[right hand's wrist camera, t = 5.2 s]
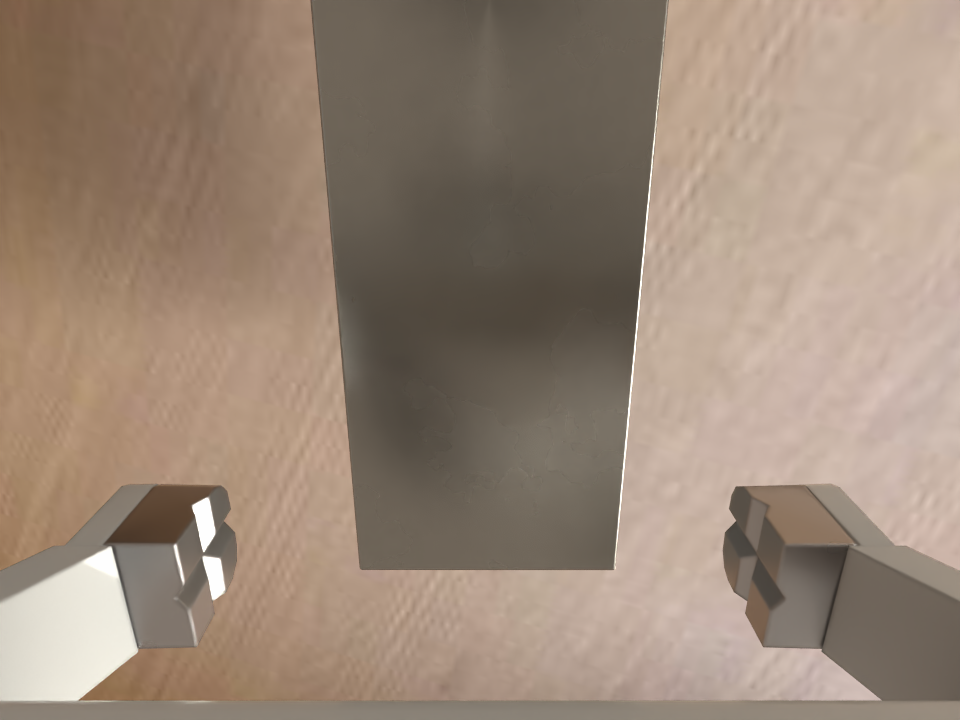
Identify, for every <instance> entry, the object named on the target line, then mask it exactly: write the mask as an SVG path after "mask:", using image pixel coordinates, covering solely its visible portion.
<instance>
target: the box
mask: <svg viewBox="0 0 960 720" xmlns="http://www.w3.org/2000/svg"><path fill="white" fill-rule="evenodd" d="M668 2H669V0H311V11H312V23H313V34H314V46H315V57H316V69H317V80H318V92H319V104H320V115H321V127H322V138H323V150H324V161H325V173H326V184H327V196H328V207H329V219H330V230H331V242H332V253H333V265H334V277H335V288H336V300H337V311H338V323H339V334H340V346H341V357H342V369H343V380H344V392H345V403H346V415H347V426H348V438H349V450H350V461H351V473H352V484H353V496H354V507H355V519H356V530H357V542H358V553H359V565H360V569H362V570H614V569H615V563H616V553H617V542H618V532H619V521H620V511H621V500H622V489H623V479H624V468H625V458H626V447H627V436H628V426H629V415H630V405H631V394H632V383H633V373H634V362H635V352H636V341H637V331H638V320H639V309H640V299H641V288H642V278H643V267H644V256H645V246H646V235H647V225H648V214H649V203H650V193H651V182H652V172H653V161H654V151H655V140H656V129H657V119H658V108H659V98H660V87H661V76H662V66H663V55H664V45H665V34H666V23H667V13H668Z"/></svg>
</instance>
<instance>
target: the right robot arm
mask: <svg viewBox="0 0 960 720" xmlns="http://www.w3.org/2000/svg"><path fill="white" fill-rule="evenodd" d="M230 510H231V507H230V502H229V498H228V493H227V491H226V490H225V489H224V488H223V487H222V486H221V485H172V484H161V485H158V484H129V485H125V486H122V487H121V488H120V489H119V490H118V491H117V492H116V493H115V494H114V495H113V496H112V497H111V498H110V499H109V500H108V501H107V502H106V503H105V504H104V505H103V506H102V507H101V508H100V509H99V510H98V511H97V513H96V514H95V515H94V516H93V517H92V518H91V519H90V520H89V521H88V522H87V523H86V524H85V525H84V526H83V527H82V528H81V529H80V530H79V531H78V532H77V533H76V534H75V535H74V536H73V538H72V539H71V540H70V541H69V542H68V543H67V544H66V545H65V546H53V547H50V548H48V549H46V550H44V551H42V552H40V553H38V554H35V555H33V556H31V557H29V558H27V559H25V560H22V561H20V562H18V563H16V564H14V565H12V566H10V567H7V568H5V569H3V570H1V571H0V720H960V571H959V570H957V569H955V568H952V567H950V566H948V565H946V564H944V563H942V562H940V561H937V560H935V559H933V558H931V557H929V556H927V555H925V554H922V553H920V552H918V551H916V550H914V549H912V548H910V547H907V546H895V545H894V544H893V543H892V542H891V541H890V540H889V539H888V537H887V536H886V535H885V534H884V533H883V532H882V531H881V530H880V529H879V528H878V527H877V526H876V525H875V524H874V523H873V522H872V521H871V520H870V519H869V518H868V517H867V516H866V514H865V513H864V512H863V511H862V510H861V509H860V508H859V507H858V506H857V505H856V504H855V503H854V502H853V501H852V500H851V499H850V498H849V497H848V496H847V495H846V494H845V493H844V492H843V490H842V489H841V488H840V487H838V486H835V485H833V484H807V485H780V486H739V487H735V489H734V492H733V494H732V496H731V502H730V507H729V510H730V511H731V513H732V514H733V516H734V518H735V519H736V522H735V523H734V524H733V525H732V526H731V527H730V528H729V529H728V530H727V531H726V532H725V537H724V545H723V558H724V568H725V571H726V575H727V578H728V581H729V583H730V585H731V587H732V589H733V591H734V592H735V593H736V594H738V595H739V596H741V597H742V598H743V599H745V600H746V601H747V606H746V612H745V614H746V616H747V618H748V620H749V621H750V623H751V625H752V627H753V629H754V631H755V633H756V634H757V636H758V638H759V640H760V642H761V644H762V646H763V647H775V648H811V649H822V652H823V653H824V654H825V655H827V656H828V657H829V658H830V659H832V660H833V661H834V662H835V663H837V664H838V665H839V666H840V667H841V668H843V669H844V670H845V671H846V672H848V673H849V674H850V675H851V676H853V677H854V678H855V679H856V680H858V681H859V682H860V683H861V684H863V685H864V686H865V687H866V688H868V689H869V690H870V691H871V692H872V693H874V694H875V695H876V696H877V697H879V698H880V699H881V700H882V701H78V700H79V699H80V698H81V697H83V696H84V695H85V694H86V693H88V692H89V691H90V690H91V689H93V688H94V687H95V686H96V685H98V684H99V683H100V682H101V681H103V680H104V679H105V678H106V677H108V676H109V675H110V674H111V673H113V672H114V671H115V670H116V669H118V668H119V667H120V666H121V665H123V664H124V663H125V662H126V661H127V660H129V659H130V658H131V657H132V656H134V655H135V654H136V653H137V652H138V649H149V648H184V647H197V646H198V644H199V642H200V640H201V638H202V636H203V635H204V633H205V631H206V629H207V627H208V625H209V623H210V621H211V620H212V618H213V616H214V614H215V612H214V606H213V601H214V600H215V599H217V598H218V597H219V596H221V595H222V594H224V593H225V592H226V591H227V589H228V587H229V585H230V583H231V581H232V579H233V575H234V570H235V566H236V562H237V543H236V537H235V532H234V531H233V530H232V529H231V528H230V527H229V526H228V525H227V524H226V523H225V522H224V519H225V518H226V516H227V514H228V513H229V511H230Z"/></svg>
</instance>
